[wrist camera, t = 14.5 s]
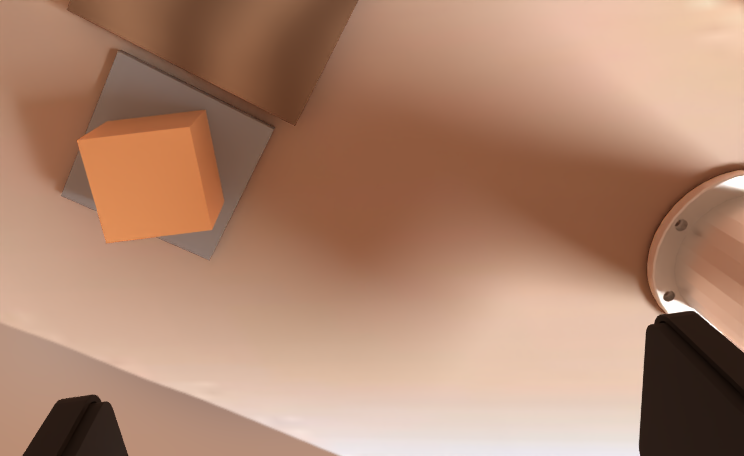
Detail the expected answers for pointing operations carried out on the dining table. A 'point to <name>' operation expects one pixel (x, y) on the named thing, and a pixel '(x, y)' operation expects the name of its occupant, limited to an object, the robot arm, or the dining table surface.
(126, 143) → the orange bevelled cube
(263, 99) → the post stand
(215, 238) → the rubber pad
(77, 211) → the dining table surface
